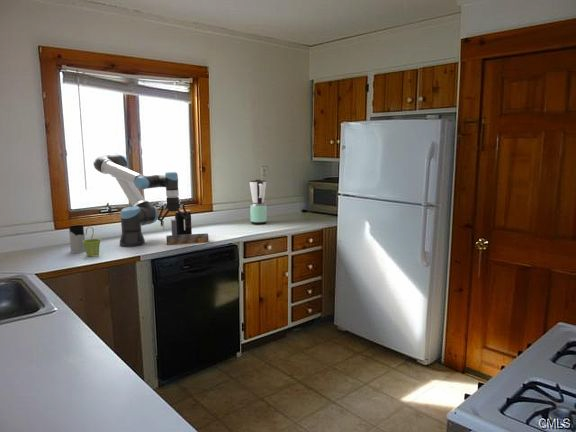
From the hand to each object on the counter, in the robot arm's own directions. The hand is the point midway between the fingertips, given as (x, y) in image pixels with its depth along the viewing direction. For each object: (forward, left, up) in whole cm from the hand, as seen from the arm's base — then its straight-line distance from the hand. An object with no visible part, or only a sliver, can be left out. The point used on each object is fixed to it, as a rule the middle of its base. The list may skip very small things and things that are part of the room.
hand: (174, 230), depth 278 cm
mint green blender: (+65, +57, -8) cm, 87 cm away
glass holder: (-53, -6, -8) cm, 54 cm away
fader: (0, 0, -5) cm, 5 cm away
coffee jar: (+6, +21, -8) cm, 23 cm away
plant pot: (-45, -21, -8) cm, 51 cm away
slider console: (+8, 0, -8) cm, 11 cm away
